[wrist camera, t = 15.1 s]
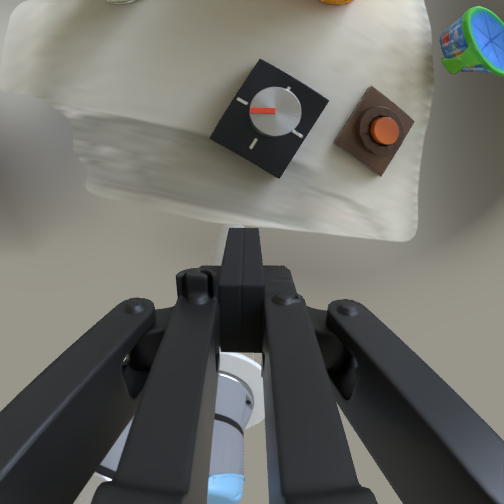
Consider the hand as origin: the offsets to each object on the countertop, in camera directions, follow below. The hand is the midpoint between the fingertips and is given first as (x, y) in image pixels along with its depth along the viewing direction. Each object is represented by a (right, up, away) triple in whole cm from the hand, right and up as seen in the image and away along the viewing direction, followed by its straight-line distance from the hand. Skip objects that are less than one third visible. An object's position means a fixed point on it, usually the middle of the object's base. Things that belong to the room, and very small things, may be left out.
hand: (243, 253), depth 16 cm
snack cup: (+33, +32, +17) cm, 49 cm away
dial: (+3, +16, +19) cm, 25 cm away
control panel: (+3, +17, +22) cm, 28 cm away
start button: (+17, +16, +20) cm, 31 cm away
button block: (+17, +17, +22) cm, 33 cm away
